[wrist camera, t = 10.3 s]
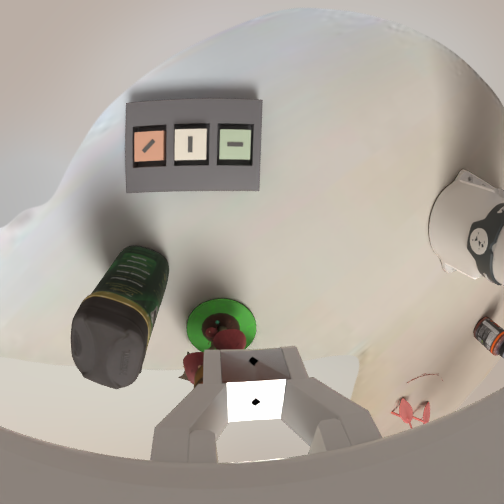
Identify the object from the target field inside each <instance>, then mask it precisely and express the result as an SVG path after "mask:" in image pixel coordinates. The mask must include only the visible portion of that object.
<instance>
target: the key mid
mask: <svg viewBox="0 0 504 504" xmlns="http://www.w3.org/2000/svg"><path fill="white" fill-rule="evenodd" d="M206 159H207V129H175V160H206Z"/></svg>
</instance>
